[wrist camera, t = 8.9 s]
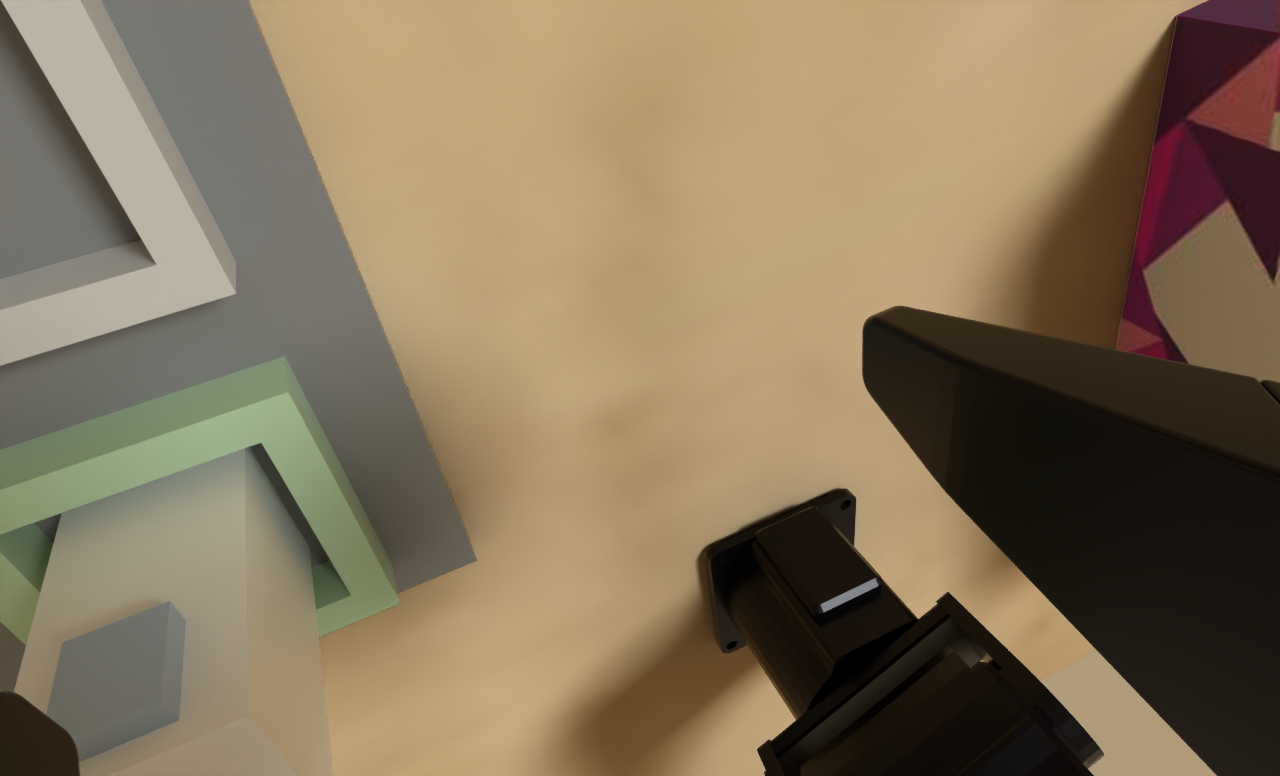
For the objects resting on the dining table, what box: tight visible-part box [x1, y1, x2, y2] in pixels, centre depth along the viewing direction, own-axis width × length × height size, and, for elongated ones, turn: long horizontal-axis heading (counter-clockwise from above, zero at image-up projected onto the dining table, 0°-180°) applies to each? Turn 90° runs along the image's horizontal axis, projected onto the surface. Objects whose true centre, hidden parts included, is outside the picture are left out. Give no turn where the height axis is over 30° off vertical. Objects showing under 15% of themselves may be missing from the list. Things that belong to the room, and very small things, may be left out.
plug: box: [14, 447, 333, 776], centre depth 16 cm, size 5×4×8 cm
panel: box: [0, 0, 477, 692], centre depth 16 cm, size 20×12×2 cm, turn 9°
